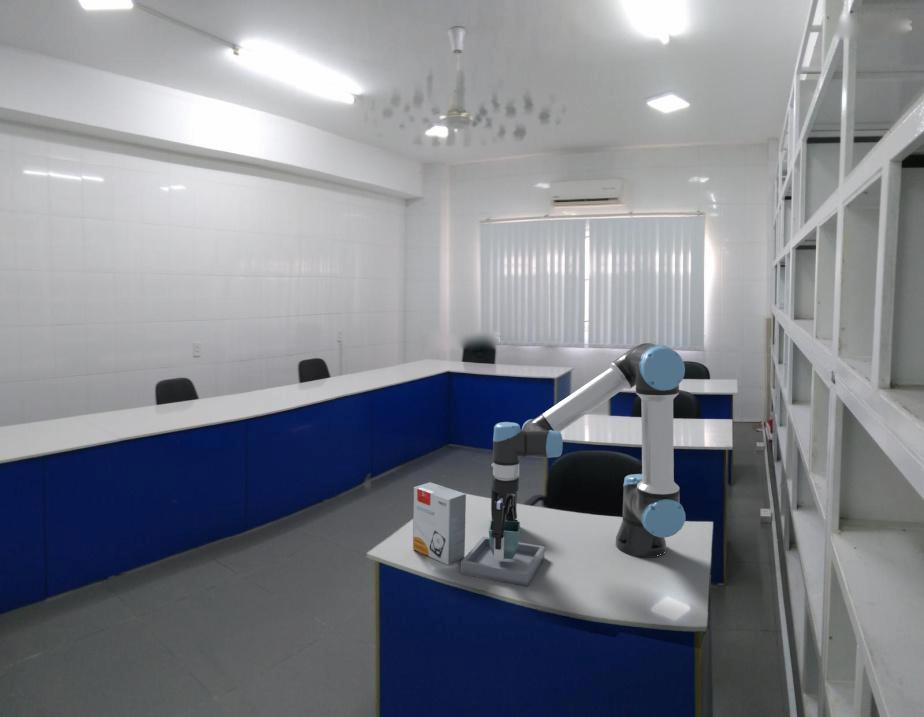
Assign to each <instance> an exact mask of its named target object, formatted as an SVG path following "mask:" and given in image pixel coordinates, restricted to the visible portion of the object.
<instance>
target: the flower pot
mask: <svg viewBox="0 0 924 717" xmlns="http://www.w3.org/2000/svg"><path fill="white" fill-rule="evenodd" d="M520 526H521V523H520V521H519V520H518V521H505V527H504V534H503V537H504V559H513V557H514V556H515V554H516V551H517V548H518V542H519V541H520V533H521V529H520V528H521V527H520ZM492 527H493V520H492V519H491V520H489V527H488V537H489V540H490V548H491V551H492V554H493V555H494V538H493V537H491V534H492Z"/></svg>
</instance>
